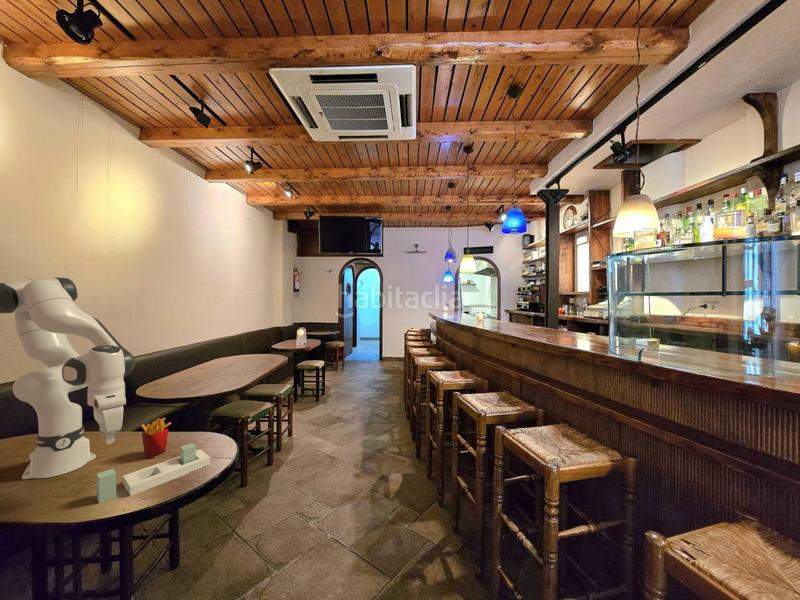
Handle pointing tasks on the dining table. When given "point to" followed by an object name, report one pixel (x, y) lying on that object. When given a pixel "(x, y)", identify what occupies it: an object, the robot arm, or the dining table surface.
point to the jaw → (106, 485)
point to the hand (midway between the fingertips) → (107, 438)
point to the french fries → (155, 438)
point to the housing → (166, 470)
